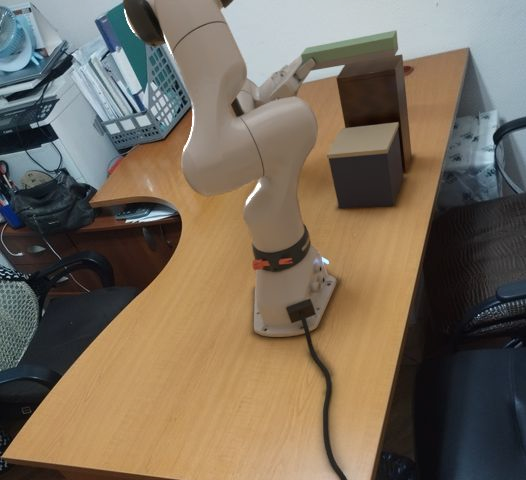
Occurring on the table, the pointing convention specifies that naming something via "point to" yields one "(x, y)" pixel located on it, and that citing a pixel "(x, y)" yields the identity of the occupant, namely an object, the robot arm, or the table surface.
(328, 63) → the green box
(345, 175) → the archive box
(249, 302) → the table surface
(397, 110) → the shelf
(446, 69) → the table surface
